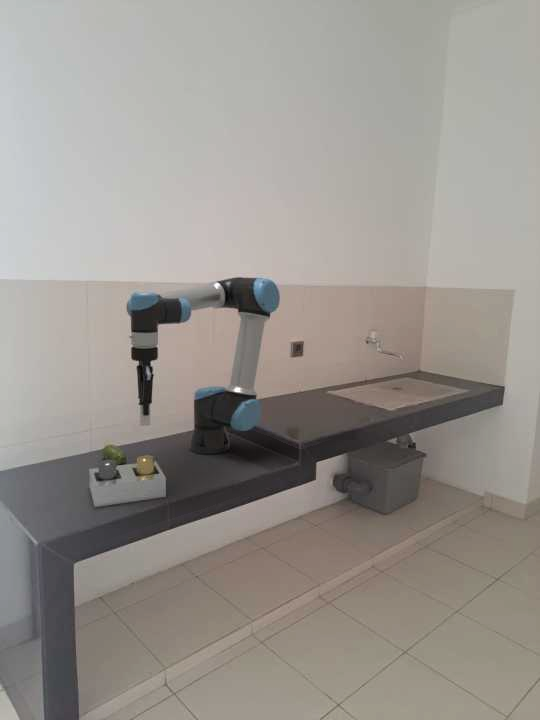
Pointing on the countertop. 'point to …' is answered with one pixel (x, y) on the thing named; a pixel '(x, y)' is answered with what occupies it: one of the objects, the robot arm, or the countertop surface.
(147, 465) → the yellow piece
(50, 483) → the countertop surface
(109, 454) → the pear
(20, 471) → the countertop surface
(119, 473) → the block
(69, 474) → the countertop surface
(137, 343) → the robot arm
